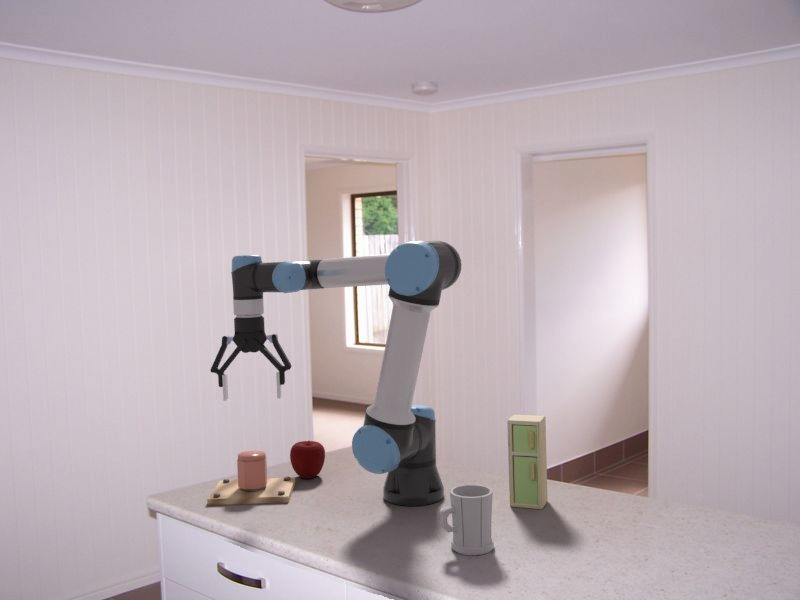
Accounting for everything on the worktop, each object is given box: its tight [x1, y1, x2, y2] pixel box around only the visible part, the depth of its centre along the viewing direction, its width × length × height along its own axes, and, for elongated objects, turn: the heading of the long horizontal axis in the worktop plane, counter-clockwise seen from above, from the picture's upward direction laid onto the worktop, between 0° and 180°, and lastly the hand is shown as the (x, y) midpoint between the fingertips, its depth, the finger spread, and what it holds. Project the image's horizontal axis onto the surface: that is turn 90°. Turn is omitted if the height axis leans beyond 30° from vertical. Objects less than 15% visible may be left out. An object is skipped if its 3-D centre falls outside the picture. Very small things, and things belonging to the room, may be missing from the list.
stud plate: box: [206, 476, 296, 506], centre depth 201 cm, size 20×16×8 cm
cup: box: [439, 484, 495, 556], centre depth 160 cm, size 10×9×12 cm
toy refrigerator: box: [507, 413, 549, 510], centre depth 186 cm, size 8×7×21 cm
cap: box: [236, 450, 268, 489], centre depth 200 cm, size 7×7×8 cm
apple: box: [289, 440, 326, 479], centre depth 214 cm, size 10×10×10 cm
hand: (252, 398), depth 200 cm, fingers open, 13 cm apart
